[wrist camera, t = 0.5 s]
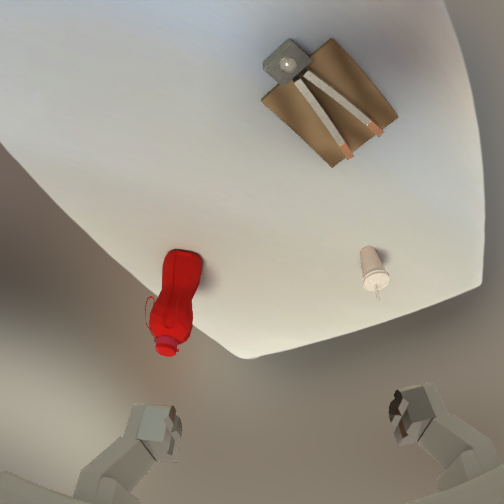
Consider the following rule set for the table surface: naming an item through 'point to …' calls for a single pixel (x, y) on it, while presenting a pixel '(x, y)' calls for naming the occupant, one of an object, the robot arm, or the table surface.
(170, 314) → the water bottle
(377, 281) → the smoothie
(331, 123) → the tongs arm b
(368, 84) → the walnut board
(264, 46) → the table surface
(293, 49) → the pivot block
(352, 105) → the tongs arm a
